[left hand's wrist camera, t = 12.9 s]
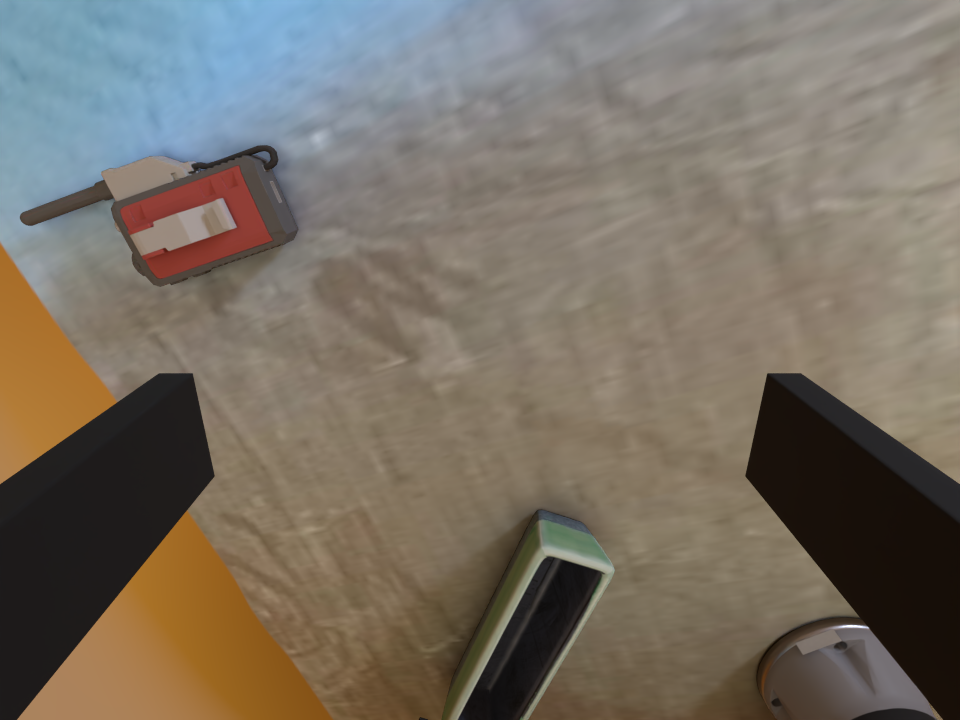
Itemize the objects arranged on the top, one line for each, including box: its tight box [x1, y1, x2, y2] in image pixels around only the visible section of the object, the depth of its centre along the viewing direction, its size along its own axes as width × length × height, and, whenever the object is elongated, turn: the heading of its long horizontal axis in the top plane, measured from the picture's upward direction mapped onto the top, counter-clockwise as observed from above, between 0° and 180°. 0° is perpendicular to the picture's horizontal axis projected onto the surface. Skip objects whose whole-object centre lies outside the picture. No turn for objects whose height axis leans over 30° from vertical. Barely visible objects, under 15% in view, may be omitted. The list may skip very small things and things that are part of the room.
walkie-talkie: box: [20, 145, 298, 287], centre depth 39 cm, size 9×4×20 cm
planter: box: [442, 510, 615, 720], centre depth 52 cm, size 28×7×7 cm, turn 160°
